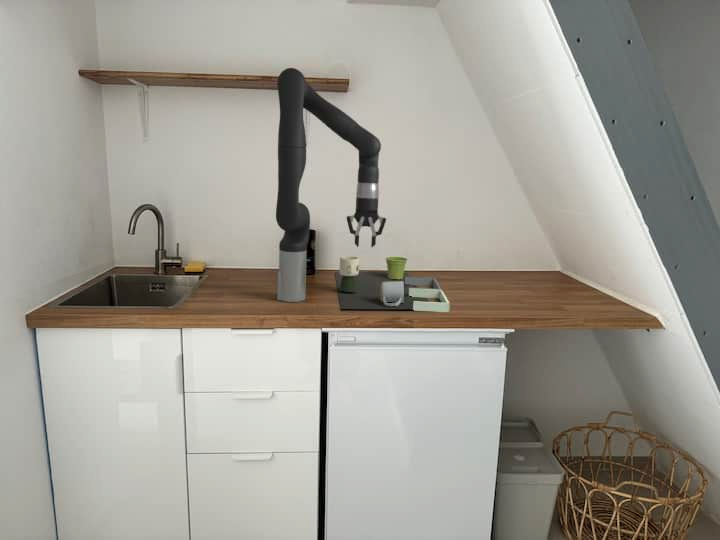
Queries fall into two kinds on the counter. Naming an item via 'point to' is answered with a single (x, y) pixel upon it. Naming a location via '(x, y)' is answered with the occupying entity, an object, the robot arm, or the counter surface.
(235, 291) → the counter surface
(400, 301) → the ceramic mug
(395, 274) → the plant pot
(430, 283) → the corral charcoal
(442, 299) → the corral green
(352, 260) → the character mug
